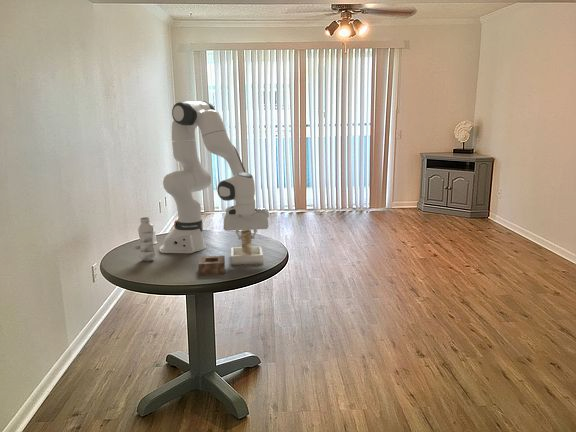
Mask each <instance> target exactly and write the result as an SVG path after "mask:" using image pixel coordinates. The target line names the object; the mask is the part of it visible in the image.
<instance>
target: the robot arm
mask: <svg viewBox="0 0 576 432" xmlns="http://www.w3.org/2000/svg"><path fill="white" fill-rule="evenodd" d="M171 116H172V119H173V120H172V125H171V144H172V153H173V154H172V155H173V158H174V159H175V160H176V161H177V162H179V163H180V164H181V166H182V168H183V170H176V171H172V172H169V173H167V174H165V176H164V177H163V182H162V185H163V189H164V190H165V192H166V193H167V194H169V195H170V196H171V198H173V200H174V201H175V202H174V203H176V208H177V216H178V219H175V220H174V223H173V224H174V229H172V230H171V231H170V232H169V233H168V234H166V235H165V237H164V240H163V244H162V245H160V246H159V252H160V253H161V254H193V253H195V252H199V251H203V250H204V249H206V248H207V246H206V243H205V239H204V235H203V234H204V233H203V229H204V224H203V219H202V206H201V204H200V203H199V201H197V200H196V199H194V198H193V195H192V193H193V192H201V191H203V190H206V189H207V188H209V187H210V186H211V182H212V175H211V174H210V172H209V171H208V170H207V169H206V168H204V166H203V164H202V163H201V161H200V158H199V156H198V150H197V149H198V147H197V141H196V140H197V139H196V129H197V127H198V128H199V129H200V134H201V138H202V140H203V144H204V146H205V148H206V150H207V151H208V152H210V153H212V154H213V155H216V156H219V157H221V158H223V159H224V160H225V161H226V162H227V163H228V167H229V169H230V171H231V173H232V176H231V177H230V178H229V177H228V178H226V179H224V180H221V181H219V183H218V184H217V188H216V189H217V194H218V197H219V199H221V200H223V201H227V202H228V201H234V202H235V204H234V205H231V206H229V207H227V208H226V209H225V214H224V217H223V230H225V231H229V232H230V231H235V234H236V235H237V236H238V237H237V238H238V240H240V241H242V235H241V234H240V231H242V230H251V231H252V230H253V234H251V240H255V236H256V234H257V233H258V231H257V230H267V229H268V228H269V220H268V218H269V217H270V212H269V210H268V209H266V208H256V200H255V195H256V193H255V192H256V187H255V186H256V185H255V184H256V183H255V180H254V179H255V178H254V176H253V175H252V174H251V173H248V172H246V169H245V167H244V165H243V164H244V163H243V161H242V159H241V157H240V154H239V153H238V150H237V148H236V147H235V145H234V144H233V143H232V142H231V140H230V137H229V136H228V133H227V129H226V127H225V124H224V121H223V118H222V116H221V115H220V113H219V112H218V111H217V110H216V109H215V106H214V105H213V104H212V103H211V102H208V101H205V100H203V101H201V100H189V101H185V100H183V101H182V100H181V101H178V102H176V103H175V104H174V105H173V107H172V109H171Z"/></svg>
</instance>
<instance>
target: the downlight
mask: <svg viewBox="0 0 576 432" xmlns="http://www.w3.org/2000/svg"><path fill="white" fill-rule="evenodd" d="M149 224H150V225H151V226H152V227H153V245H155V244H158V241H157V237H156V236H157V235H156V230H155V225H154V223H149Z"/></svg>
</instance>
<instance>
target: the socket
mask: <svg viewBox="0 0 576 432" xmlns="http://www.w3.org/2000/svg"><path fill="white" fill-rule="evenodd" d="M225 262H226V261H225V255H211V256H210V255H209V256H200V257H199V260H198V263H197V264H198V276H199V277H200V276H220V275H221V276H223V275H225V269H226V263H225Z"/></svg>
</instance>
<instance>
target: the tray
mask: <svg viewBox="0 0 576 432" xmlns="http://www.w3.org/2000/svg"><path fill="white" fill-rule="evenodd" d="M230 250H231V251H230V263H231V266H237V265H239V266H240V265H242V264H243V265H262V264H264V253H263V249H262V246H258V245H257V246H252V255H242V246H235V247H233V246H232V247H231V248H230Z"/></svg>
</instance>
